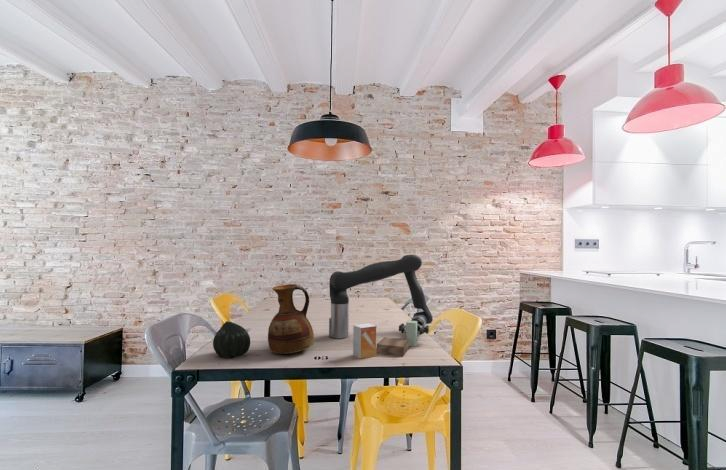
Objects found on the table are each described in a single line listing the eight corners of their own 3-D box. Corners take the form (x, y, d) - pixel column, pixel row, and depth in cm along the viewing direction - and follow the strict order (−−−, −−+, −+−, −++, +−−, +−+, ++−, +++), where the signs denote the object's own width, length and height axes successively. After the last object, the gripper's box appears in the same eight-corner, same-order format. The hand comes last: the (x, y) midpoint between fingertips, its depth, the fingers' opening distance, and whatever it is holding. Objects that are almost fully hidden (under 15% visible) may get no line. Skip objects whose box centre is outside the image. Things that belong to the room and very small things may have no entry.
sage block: (406, 345, 173) (406, 322, 174) (408, 343, 178) (408, 320, 178) (415, 346, 172) (415, 323, 172) (417, 344, 176) (417, 321, 176)
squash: (254, 345, 153) (248, 314, 161) (216, 352, 145) (212, 319, 154) (249, 361, 162) (244, 330, 171) (213, 368, 155) (209, 336, 163)
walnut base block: (376, 353, 162) (376, 344, 162) (384, 345, 173) (384, 337, 173) (403, 356, 158) (403, 346, 158) (409, 348, 169) (409, 339, 169)
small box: (360, 359, 153) (360, 328, 154) (352, 355, 159) (352, 325, 159) (376, 356, 158) (376, 325, 158) (368, 352, 163) (368, 322, 163)
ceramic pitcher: (264, 347, 169) (265, 282, 170) (307, 342, 177) (308, 280, 178) (271, 360, 151) (272, 287, 152) (319, 354, 159) (319, 285, 160)
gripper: (403, 316, 191) (396, 322, 176) (431, 318, 187) (426, 325, 171) (403, 330, 191) (396, 338, 176) (431, 333, 187) (426, 341, 171)
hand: (411, 331), depth 174 cm, fingers open, 8 cm apart
